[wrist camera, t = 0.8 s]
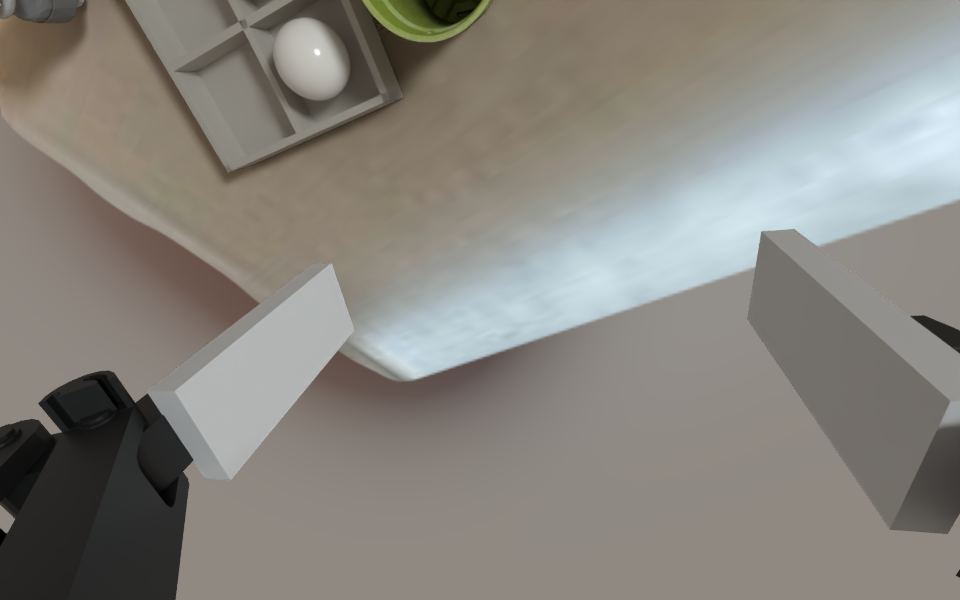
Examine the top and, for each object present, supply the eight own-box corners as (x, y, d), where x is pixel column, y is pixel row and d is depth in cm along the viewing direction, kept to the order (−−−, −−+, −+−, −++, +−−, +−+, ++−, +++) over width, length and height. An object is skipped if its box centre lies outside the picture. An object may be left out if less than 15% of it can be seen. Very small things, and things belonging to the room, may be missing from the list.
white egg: (287, 39, 35) (241, 33, 30) (342, 8, 33) (302, -3, 28) (321, 108, 37) (282, 114, 32) (374, 83, 35) (342, 85, 30)
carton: (130, -45, 35) (92, -54, 32) (296, -173, 29) (267, -197, 26) (250, 166, 42) (227, 172, 39) (404, 97, 36) (390, 99, 33)
